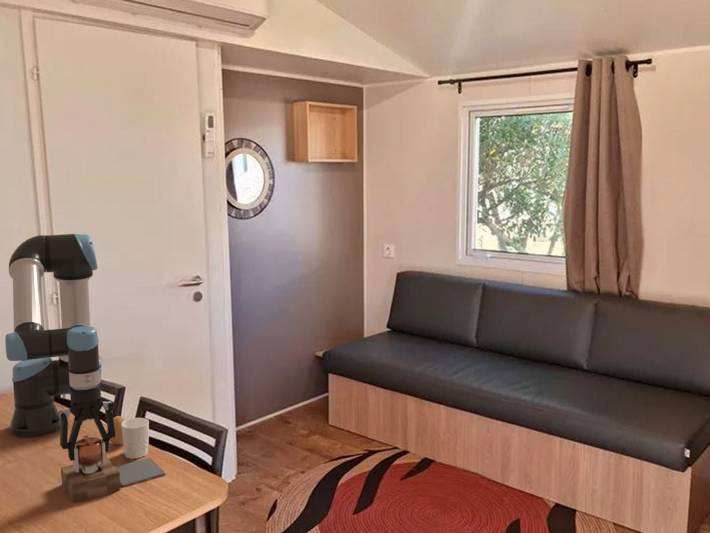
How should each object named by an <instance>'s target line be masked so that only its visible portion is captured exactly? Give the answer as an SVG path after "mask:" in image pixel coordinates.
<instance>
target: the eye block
mask: <svg viewBox="0 0 710 533" xmlns="http://www.w3.org/2000/svg"><path fill="white" fill-rule="evenodd" d="M115 467H116V466H115V465H114V464H113V462H111V461H110V460H109V458H108V457H107V456H106V465H104V466H103V465H102V463H101V462H100V461H99V462H98V472H97V473H93V474H89V475H86V476H83V475H82V465H80V464H79V472H77V473H76V472H75V471H74V469H73V464H71V465H70V464H69V465H67V466H66V465H65V466H63V467H60V473H61V474H60V475H61V485H62V487H63V489H64V490H65V492H66V493H67V494H68V496H69V498H70V499H71V501H72V503H73V504H75V503H79V502H82V501H86V500H90V499H93V498H97V497H101V496H104V495H106V494H110V493H113V492H114V493H115V492H118V491H120V490H121V484H120V472H119V471H118V470H117V469H116V468H115Z"/></svg>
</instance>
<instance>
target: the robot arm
mask: <svg viewBox="0 0 710 533" xmlns="http://www.w3.org/2000/svg"><path fill="white" fill-rule="evenodd" d="M93 242H94V241H93V239H92V237H91V236H90V235H89V234H86V233H69V234H67V233H65V234H64V233H63V234H50V235H43V234H41V235H35V236H32V237H30V238H28V239H26V240H25V241H23V242H21V243H20V245H18V246H17V247H16V249H15V250H14V251H13V253H12V255H11V257H10V259H9V262H8V275H9V277H10V278H11V279H12V299H13V300H12V302H13V304H12V306H13V307H12V308H13V332H11V333H6V335H5V338H4V339H5V342H4V344H5V354H6V358H7V360H8V361H9V362H17V363H15V365H13V367H12V377H11V381H12V385H13V399H14V411H13V414H12V417H11V422H10V424H9V425H10V426H9V427H10V428H9V429H10V430H9V431H10V434H11V435H13V436H14V437H19V438H34V437H35V438H36V437H41V436H44V435H47V434H50V433H53V432H55V431H57V430H59V429H60V430H59V431H60V433H59V435H60V437H59V446H60V447H61V448H62V449H63V450H67V453H68V455H67V456H68V459H69V460H70V461H71V462H72V465H73V469H74V471H75V472H76V473H77V472H79V464H78V449H77V448H76V442H77V441H78V440H77V439H78V437H79V432H80V430H81V427H82V425H83V422H84V421H87V420H93V421H94V424H95V425H96V428H97V430H98V432H99V434H100V436H101V438H100V439H101V447H102V460H101V461H100V462H101V463H102V465H103V466H104V465H106V457H107V454H106V453H107V452H109V450H110V445H109V442H111V441H110V438H113V437H115V428H114V421H113V418H114V416H113V414H114V413H113V410H114V403H113V402H112V401H110V400H107V401H103V400H102V389H101V388H102V387H101V379H102V356H100V355H99V354H100V353H99V351H100V350H99V336H98V330H97V329H96V328H95V327H92V326H91V316H90V315H91V314H90V312H91V310H90V294H89V280H90V279H91V278H92V277H93V276H94V271H96V270H98V261H97V256H96V251H95V246H94V243H93ZM45 273H53V278H54V280H56V281H57V282H58V283H59V286H58V287H59V300H60V301H59V302H60V316H61V317H60V318H61V328H55V329H45V323H44V321H45V319H44V317H45V316H44V302H43V290H42V289H43V287H42V277H43V276H44V274H45ZM57 357H58V359H55V360H53V358H57ZM18 361H19V362H18ZM64 395H70V396H69V398H70V405H69V407H68V408H67V409H65V410H60V411H58V408H57V406H56V404H55V397H57V396H64ZM102 408H103V410H104V414H105V420H106V421H105V422H106V426H107V428H108V433H107V431H106V429H105V427H104V424H103V422H102V421H101V417H100V415H99V413H100V411H101V410H102ZM70 414H72V415H73V416H74V418H73V423H72V427H71V431H70V434H69V433H68V432H69V431H68V430H69V422H68V421H69V420H68V419H69V418H70ZM68 434H69V437H68Z"/></svg>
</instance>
